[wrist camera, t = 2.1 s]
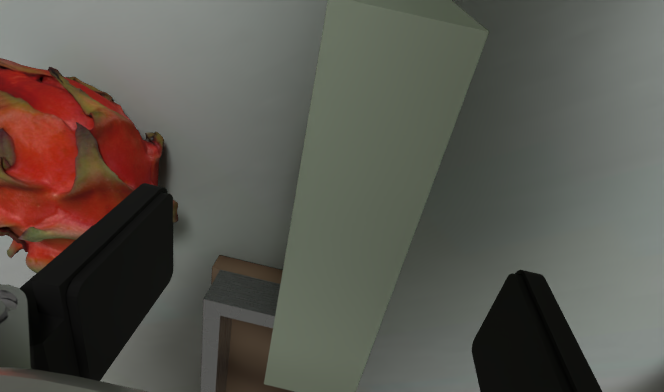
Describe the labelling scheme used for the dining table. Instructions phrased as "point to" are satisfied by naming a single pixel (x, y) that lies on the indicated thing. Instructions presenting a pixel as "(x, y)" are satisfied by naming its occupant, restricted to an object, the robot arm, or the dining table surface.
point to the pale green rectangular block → (365, 178)
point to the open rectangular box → (238, 326)
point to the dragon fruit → (64, 159)
